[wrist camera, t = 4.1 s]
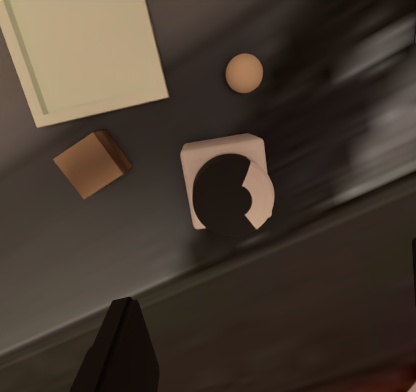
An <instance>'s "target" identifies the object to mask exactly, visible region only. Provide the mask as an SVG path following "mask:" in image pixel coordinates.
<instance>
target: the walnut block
mask: <svg viewBox="0 0 416 392" xmlns="http://www.w3.org/2000/svg"><path fill="white" fill-rule="evenodd" d="M53 160H54V162H55V163H56V164H57V165H58V167H59V168H60V169H61V171H62V172H63V173H64V174H65V176H66V177H67V178H68V180H69V181H70V182H71V183H72V185H73V186H74V187H75V189H76V190H77V191H78V192H79V194H80V195H81V196H82V198H83V199H86V198H87V197H89V196H90V195H92V194H93V193H95V192H96V191H98V190H99V189H101V188H103V187H104V186H106V185H107V184H109V183H110V182H112V181H113V180H115V179H116V178H118V177H119V176H121V175H122V174H124V173H125V172H126V171H127V170H128V169H130V168H131V167H132V165H131V164H130V162H129V161H128V160H127V158H126V157H125V155H124V154H123V153H122V151H121V150H120V148H119V147H118V146H117V144H116V143H115V141H114V140H113V138H112V137H111V136H110V134H109V133H108V131H107V130H103V131H97V132H93V133H91V134H90V135H88V136H87V137H85V138H84V139H82V140H81V141H79V142H78V143H76V144H75V145H74V146H72V147H71V148H69V149H68V150H66V151H65V152H63V153H62V154H60V155H59V156H57V157H56V158H54V159H53Z"/></svg>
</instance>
